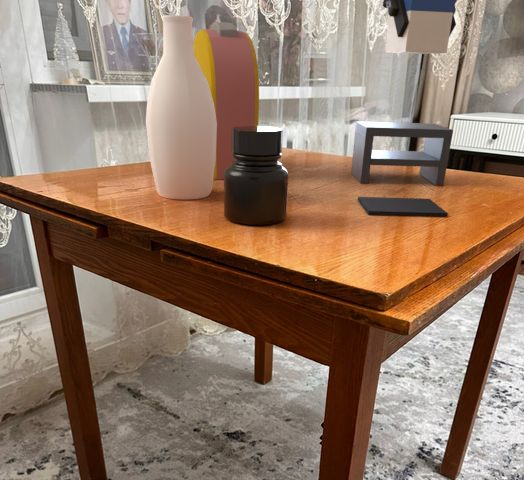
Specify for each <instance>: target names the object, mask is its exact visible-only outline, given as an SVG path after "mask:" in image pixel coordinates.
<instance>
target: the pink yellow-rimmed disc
mask: <svg viewBox="0 0 524 480" xmlns="http://www.w3.org/2000/svg"><path fill="white" fill-rule="evenodd" d="M195 34H196V35H195V37H194V39H193V45H194V55H195V57H196V59H197V61H198V63H199V65H200V67H201V69H202V71H203V73H204V75H205V77H206V79H207V81H208V84H209V88H210V91H211V95H212V98H213V102H214V108H215V114H216V121H217V133H216V161H215V169H214V176H213V180H224V172H225V169H226V168H227V167H228V166H230V165H231V163H232V162H233V161H235V158H233V157H232V128H233V127H239V126H259V120H260V119H259V117H260V77H259V65H258V58H257V52H256V49H255V45H254V43H253V40H252V39H251V37H250V35H249V34H248V33H247V32H245V31H242V30H237V28H236V26H235V25H234V24H233V23H232V22H223V21H214V22H213V23H212V24H211V25H210V27H209V28H208V29H207V28H206V29H205V28H202V29H199V30H198V32H197V33H195Z"/></svg>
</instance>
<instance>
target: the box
mask: <svg viewBox="0 0 524 480" xmlns="http://www.w3.org/2000/svg"><path fill="white" fill-rule="evenodd" d="M455 1H456V0H404V3H405V7H406V11H407V15H408V20H409V24H408V26H407V28H406V30H405V32H404V35H403V37H398V35H397V31H396V26H395V22H394V17H392V16H389V15H388V22H387V30H386V37H385V48H384V53H388V54H389V53H392V54H415V55H416V54H417V55H418V54H419V55H428V54H430V55H431V54H447V52H448V47H449V40H450V36H451V35H450V29H451V23H452V16H453V13H454V7H455V8H456V3H455ZM456 2H457V1H456ZM449 35H450V36H449Z"/></svg>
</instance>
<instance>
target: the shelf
mask: <svg viewBox="0 0 524 480" xmlns="http://www.w3.org/2000/svg"><path fill="white" fill-rule="evenodd" d="M453 134H454V129H452V128H449V127H445V126H443V125H441V124H440V125H439V124H437V123H429V122H428V123H424V122H393V121H392V122H391V121H390V122H389V121H358V120H356V121H355V128H354V139H353V148H352V160H351V168H350V169H351V170H350V173H351V174H352V176H354V178H355V179H356V180H357V181H358V183H359V184H365V185H366V184H369V181H370V171H371V166H388V167H389V166H390V167H419V172H418V173H419V174H418V175H420V176H421V177H423V178H424V179H426V180H427V181H429V182H430V183H431V184H433V185H435V186H442V187H443V186H444V183H445V179H446V173H447V167H448V163H449V155H450V150H451V145H452V140H453V139H452V138H453ZM374 137H382V138H383V137H385V138H387V137H389V138H418V139H420V138H421V139H423V138H424V143H423V149H422V150H421V151H420V150H419V151H418V150H416V151H415V150H387V149H386V150H381V149H373V147H374V145H373V144H374Z"/></svg>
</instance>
